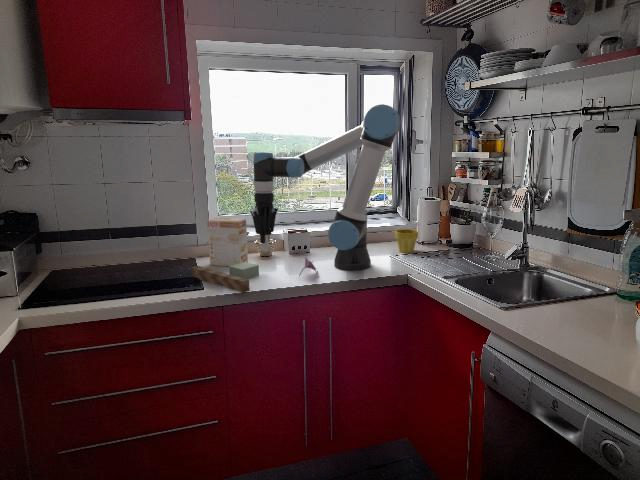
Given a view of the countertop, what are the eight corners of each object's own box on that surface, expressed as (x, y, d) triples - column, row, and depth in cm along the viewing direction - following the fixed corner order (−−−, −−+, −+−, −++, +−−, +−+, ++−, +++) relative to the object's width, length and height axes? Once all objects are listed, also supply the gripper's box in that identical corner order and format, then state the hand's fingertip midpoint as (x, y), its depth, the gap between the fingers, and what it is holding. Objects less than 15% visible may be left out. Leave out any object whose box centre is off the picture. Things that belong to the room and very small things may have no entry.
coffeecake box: (248, 263, 192) (246, 218, 188) (240, 267, 185) (237, 221, 181) (219, 261, 197) (216, 217, 193) (209, 264, 191) (206, 219, 187)
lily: (312, 284, 166) (324, 260, 166) (285, 270, 168) (296, 247, 169) (318, 284, 178) (329, 262, 178) (293, 271, 180) (303, 249, 180)
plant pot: (400, 254, 204) (401, 233, 202) (391, 249, 214) (391, 229, 212) (421, 253, 207) (422, 232, 205) (411, 248, 217) (412, 228, 215)
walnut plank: (249, 290, 156) (249, 279, 155) (242, 292, 154) (242, 281, 153) (198, 275, 175) (197, 265, 174) (191, 277, 173) (190, 267, 172)
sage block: (259, 276, 174) (258, 265, 173) (243, 281, 168) (242, 269, 167) (245, 272, 179) (244, 261, 178) (229, 277, 173) (228, 266, 172)
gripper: (269, 190, 183) (270, 246, 188) (244, 192, 173) (246, 252, 178) (282, 191, 178) (283, 249, 183) (258, 194, 169) (259, 254, 174)
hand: (265, 250), depth 181 cm, fingers closed
